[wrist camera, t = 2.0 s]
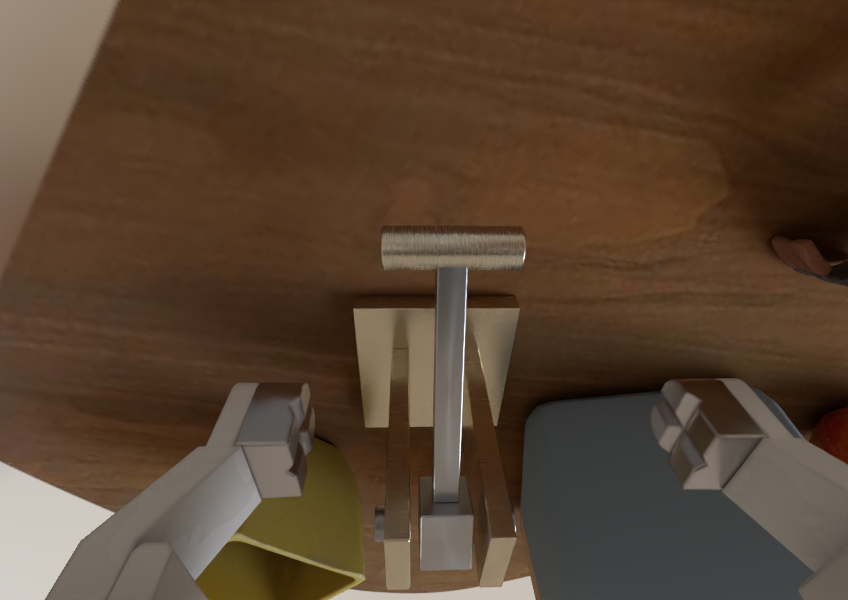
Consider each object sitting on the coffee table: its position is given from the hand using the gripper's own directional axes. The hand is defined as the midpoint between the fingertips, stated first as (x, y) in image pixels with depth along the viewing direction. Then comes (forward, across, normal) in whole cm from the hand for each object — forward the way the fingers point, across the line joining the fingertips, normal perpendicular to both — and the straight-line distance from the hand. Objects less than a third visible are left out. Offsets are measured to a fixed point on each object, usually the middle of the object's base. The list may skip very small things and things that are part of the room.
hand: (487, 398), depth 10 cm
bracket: (+13, 0, +11) cm, 17 cm away
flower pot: (+13, +10, +20) cm, 26 cm away
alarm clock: (+13, -15, +21) cm, 29 cm away
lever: (+6, 0, +6) cm, 9 cm away
